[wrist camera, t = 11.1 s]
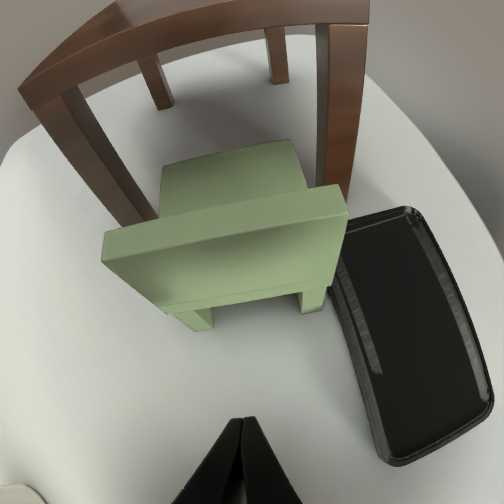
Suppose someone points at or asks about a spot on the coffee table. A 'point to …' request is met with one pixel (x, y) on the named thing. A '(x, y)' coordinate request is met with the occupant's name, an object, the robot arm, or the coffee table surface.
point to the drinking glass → (18, 495)
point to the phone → (408, 336)
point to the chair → (233, 235)
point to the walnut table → (145, 52)
